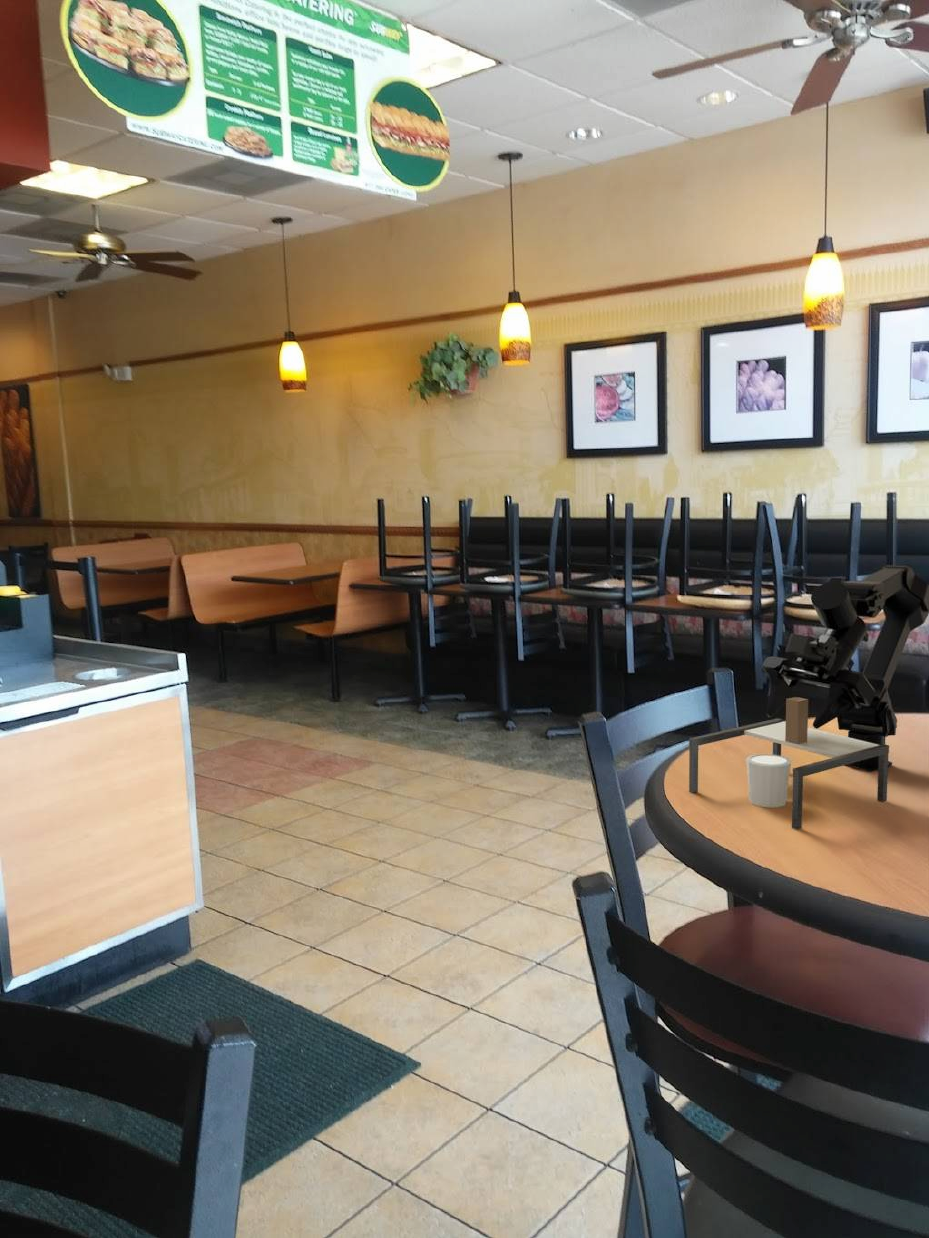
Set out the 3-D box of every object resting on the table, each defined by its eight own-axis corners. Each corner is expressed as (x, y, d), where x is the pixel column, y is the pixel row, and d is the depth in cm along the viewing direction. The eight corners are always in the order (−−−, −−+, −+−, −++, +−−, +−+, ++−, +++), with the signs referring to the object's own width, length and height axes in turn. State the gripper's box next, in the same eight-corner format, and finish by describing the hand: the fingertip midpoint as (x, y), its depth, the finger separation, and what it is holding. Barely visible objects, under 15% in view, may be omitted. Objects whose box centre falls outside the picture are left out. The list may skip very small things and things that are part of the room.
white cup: (792, 809, 157) (793, 766, 156) (747, 807, 158) (747, 764, 157) (787, 795, 163) (788, 753, 162) (744, 793, 165) (744, 752, 164)
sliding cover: (783, 724, 176) (784, 682, 174) (881, 749, 160) (882, 702, 158) (744, 734, 170) (744, 690, 169) (840, 760, 154) (842, 711, 153)
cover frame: (776, 768, 178) (777, 718, 177) (887, 800, 160) (889, 745, 158) (688, 791, 167) (689, 738, 165) (796, 829, 148) (798, 770, 147)
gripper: (769, 609, 170) (722, 681, 166) (865, 621, 154) (816, 702, 150) (799, 649, 175) (754, 720, 171) (895, 665, 160) (848, 744, 155)
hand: (790, 721), depth 162 cm, fingers open, 9 cm apart
